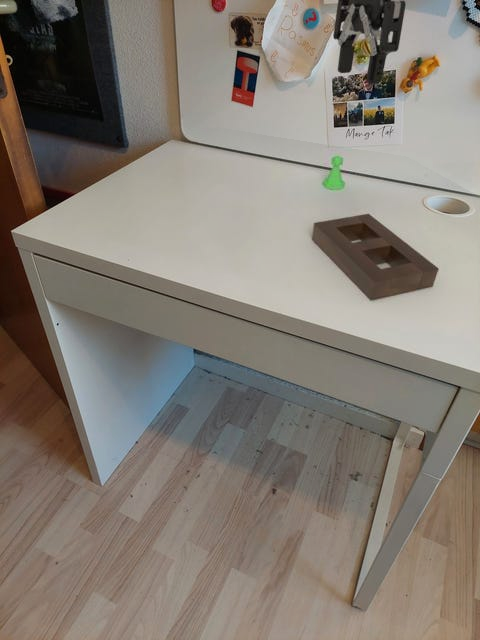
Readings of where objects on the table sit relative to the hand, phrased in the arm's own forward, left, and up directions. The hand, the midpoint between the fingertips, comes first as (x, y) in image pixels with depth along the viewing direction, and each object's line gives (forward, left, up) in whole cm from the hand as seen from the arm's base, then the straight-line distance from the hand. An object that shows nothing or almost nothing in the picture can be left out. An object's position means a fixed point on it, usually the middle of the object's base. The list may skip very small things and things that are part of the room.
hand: (357, 77), depth 72 cm
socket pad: (+6, +20, -21) cm, 30 cm away
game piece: (-3, -7, -21) cm, 22 cm away
